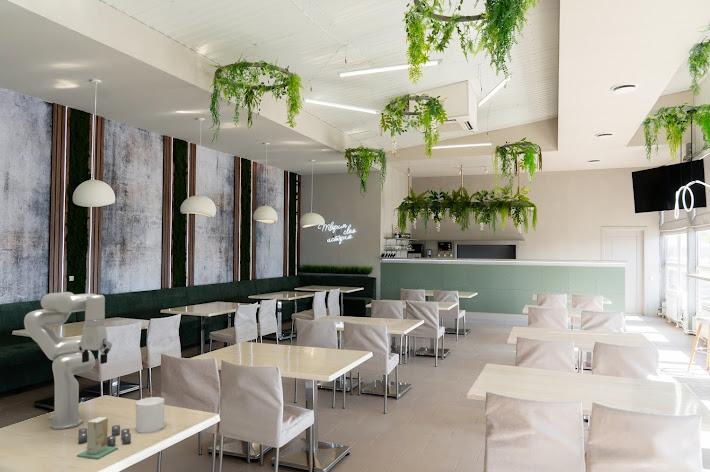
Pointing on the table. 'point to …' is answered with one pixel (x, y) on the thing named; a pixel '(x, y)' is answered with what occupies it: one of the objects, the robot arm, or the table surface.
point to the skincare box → (97, 435)
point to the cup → (149, 414)
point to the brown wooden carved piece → (150, 395)
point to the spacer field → (111, 439)
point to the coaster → (100, 454)
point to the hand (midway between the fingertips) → (94, 362)
